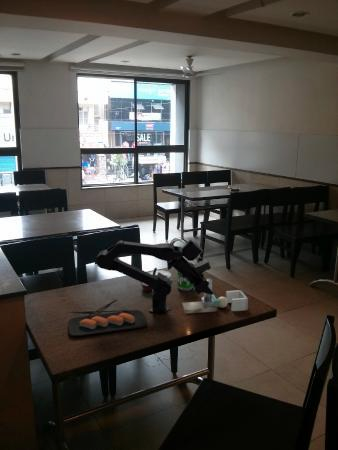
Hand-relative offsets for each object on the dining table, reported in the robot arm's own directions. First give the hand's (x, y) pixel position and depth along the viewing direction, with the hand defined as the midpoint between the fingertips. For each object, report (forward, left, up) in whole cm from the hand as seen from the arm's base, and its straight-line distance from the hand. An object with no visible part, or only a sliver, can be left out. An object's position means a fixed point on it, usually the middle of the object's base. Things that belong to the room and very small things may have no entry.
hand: (211, 291), depth 167 cm
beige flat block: (-3, +4, -7) cm, 9 cm away
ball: (+3, -4, -5) cm, 7 cm away
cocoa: (+5, +32, -7) cm, 33 cm away
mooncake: (+19, +34, -8) cm, 40 cm away
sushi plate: (-25, +35, -8) cm, 44 cm away
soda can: (+15, +18, -7) cm, 24 cm away
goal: (+6, -9, -7) cm, 13 cm away
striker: (0, +1, -5) cm, 5 cm away
